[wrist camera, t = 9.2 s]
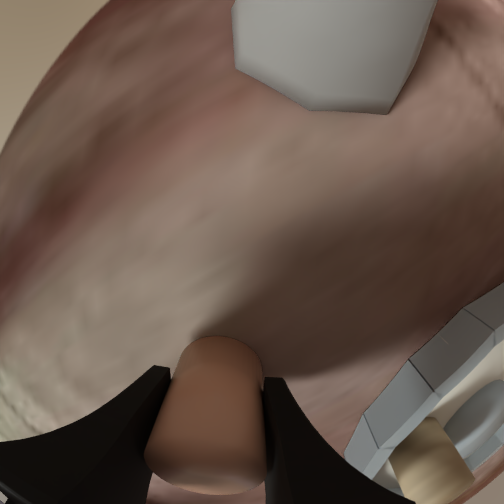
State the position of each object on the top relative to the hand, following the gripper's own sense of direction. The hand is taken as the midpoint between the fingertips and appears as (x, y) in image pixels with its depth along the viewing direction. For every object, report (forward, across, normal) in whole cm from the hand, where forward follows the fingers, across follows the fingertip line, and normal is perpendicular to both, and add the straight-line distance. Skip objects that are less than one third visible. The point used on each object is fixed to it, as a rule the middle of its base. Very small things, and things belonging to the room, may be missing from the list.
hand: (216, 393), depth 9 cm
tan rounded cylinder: (0, -10, +5) cm, 11 cm away
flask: (+2, -3, -14) cm, 14 cm away
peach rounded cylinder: (+1, 0, 0) cm, 1 cm away
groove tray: (+1, -16, +4) cm, 17 cm away
